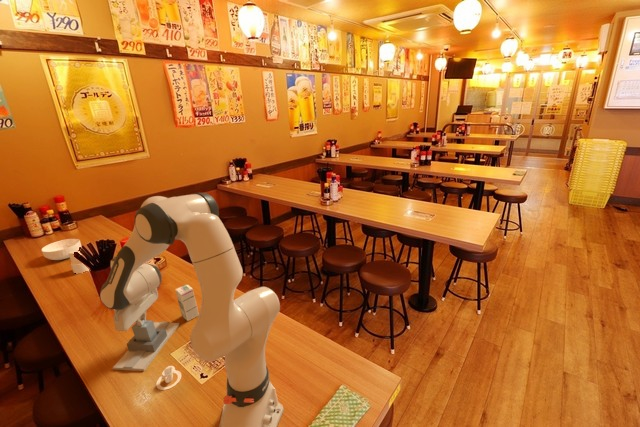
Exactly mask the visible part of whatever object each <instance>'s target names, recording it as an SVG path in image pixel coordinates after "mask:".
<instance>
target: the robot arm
mask: <svg viewBox="0 0 640 427" xmlns="http://www.w3.org/2000/svg"><path fill="white" fill-rule="evenodd" d="M219 208H220V207H219V205H218V203H217V200H215V198H214V197H213V196H212V195H210V194H209V193H206V192H193V193H191V194H186V195H178V196H171V197H166V196H161V195H155V196H151V197H148V198H147V199H145V200H144V201H143V202H142V204H141V206H140V208H139V209H137V211H136V213H135V215H134V226H133V230H132V232H131V233H130V236H128V239H127V241H126V242H125V243H124V245H123V246H122V247H121V248H120V250H119V251H118V252H117V254H116V256H115V257H113V258H112V259H111V260H110V271H109V274H108V277H107V279H106V281H105V282H104V283H103V284H102V286H101V288H100V290H99V297H100V301H101V302H102V304H103V305H104V306H105V307H106V308H107V309H110V310H114V313H113V322H114V323H113V324H114V327H115V330H116V331H118V332H127V331H128V330H129V329H130V328H132V326H133V325H134V324H135V323H137V325H138V326H142V325H143V324H144V323H145V322H146V320H147V312H148V311H147V310H148V309H150V307H151V306H152V305H153V304H154V303H156V302H157V300H158V299H159V292H158V287H160V285H161V283H162V273H161V271H160V268H159V267H158V266H156V265H155V264H152V263H147V262H149V261H151V260H152V259H154V258H155V257H158V256H159V255H160V254H162V253H163V252H165V251H166V250H167V249H168V248H169V247H170V245H174V243H175V240H179V241H180V242H182V243H184V245H185V246H186V249H187V252H188V255H189V257H190V262H192V263H191V264H192V266H193V268H194V271H195V273H196V278H197V280H198V283H199V284H198V285H199V287H200V291H201V307H200V311H199V316H197V320H196V322H195V324H194V326H193V327H192V329H191V333H190V337H189V338H190V346H191V347H190V348H192V351H193V353H194V354H195V355H196V356H197V357H198V358H199V359H200V360H202V361H205V362H209V363H210V362H211V363H212V362H214V361H216V360H218V359H221V358H223V357H224V366H225V369H226V376H227V378H226V395H224V398H223V407H222V411H221V412H222V413H221V417H220V422H219V426H218V427H278V426H279V422H280V421H281V418H282V416H283V413H284V411H285V410H284V406H283V404H282V403H280V402H279V400H278V399H279V398H278V395H277V390H276V388H275V386H274V385H273V384H272V382H271V380H270V371H269V368H268V366H267V362H266V361H267V360H266V348H267V347H266V345H267V341H268V337H269V334H270V330H271V328H272V326H273V324H274V322H275V320H276V318H277V316H278V315H279V313H280V309H281V308H280V307H281V304H280V300H279V297H278V295H277V293H275V291H274V290H273V289H271V288H269V287H267V286H260V287H257V288H254V289H251V290H248V291H247V292H245V293H244V294H242V295H239V297H237V298H234V297H235V292H236V289H237V288H238V286H239V284H240V283H241V281H242V278H243V273H244V272H243V267H242V265H241V262H240V259H239V257H238V256H239V255H238V254H237V252H236V249H235V246H234V243H233V241H232V238H231V236H230V234H229V232H228V230H227V228H226V227H225V225H224V223H223V222H222V220H221V219H220V217H219V216H220V215H219V214H220V211H219Z"/></svg>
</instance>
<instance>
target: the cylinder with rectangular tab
mask: <svg viewBox="0 0 640 427" xmlns="http://www.w3.org/2000/svg"><path fill="white" fill-rule="evenodd" d="M80 251H81V250H80ZM80 251H71V252H69V253H68V254H69V259H70V266H71V267H70V268H71V270H72V272H73V274H74V273H76V274H75V275H79V274H78V273H82V274H84V273H83V272H85V271H88V272H90V271H89V269H88V268H87V267H86V266H85V265H84V264H83V263H81V262H80V261H79V260H77V259H76V258H75V257H74V255H73V254H74V252H78V253H79V254H80V255H82V254H81V253H80Z"/></svg>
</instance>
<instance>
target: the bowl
mask: <svg viewBox="0 0 640 427" xmlns="http://www.w3.org/2000/svg"><path fill="white" fill-rule="evenodd" d="M79 247H81V248H82V243H81V240H80V239H78V238H67V239H61V240H58V241H55V242H51V243H49V244H47V245H45V246H43V247H42V248H41V250H40V251H41V252H42V255H43V256H44V258H46V259H48V260H51V261H62V260H66V259H70V257H69V254H68V253H69V252H71V251H78V250H79Z"/></svg>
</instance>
